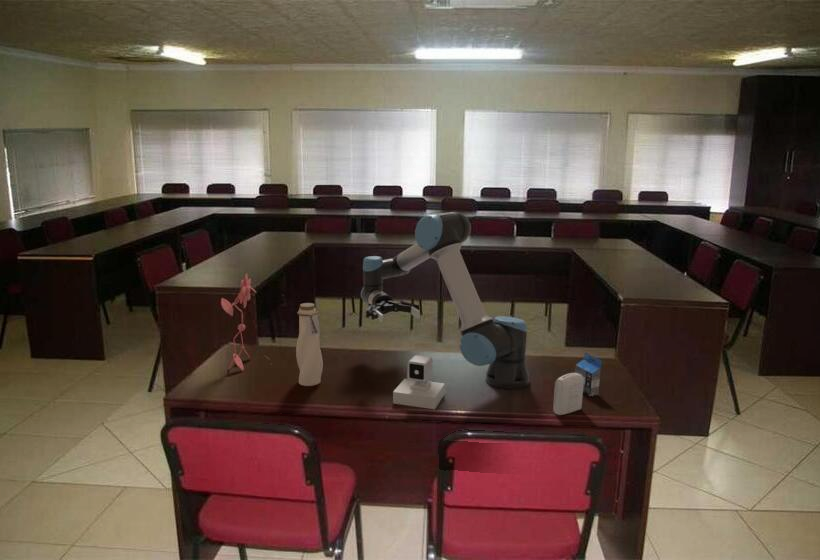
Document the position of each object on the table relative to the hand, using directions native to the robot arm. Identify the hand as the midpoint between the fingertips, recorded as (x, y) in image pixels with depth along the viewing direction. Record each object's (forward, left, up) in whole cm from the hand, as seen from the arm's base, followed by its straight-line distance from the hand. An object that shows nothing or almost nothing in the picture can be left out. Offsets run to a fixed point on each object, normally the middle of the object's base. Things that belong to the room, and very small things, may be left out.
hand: (400, 316), depth 213 cm
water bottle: (+29, +13, -23) cm, 39 cm away
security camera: (-12, +14, -19) cm, 26 cm away
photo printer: (-58, +7, -23) cm, 63 cm away
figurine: (+57, +6, -23) cm, 62 cm away
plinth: (-11, +14, -23) cm, 29 cm away
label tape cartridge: (-63, -11, -23) cm, 68 cm away
